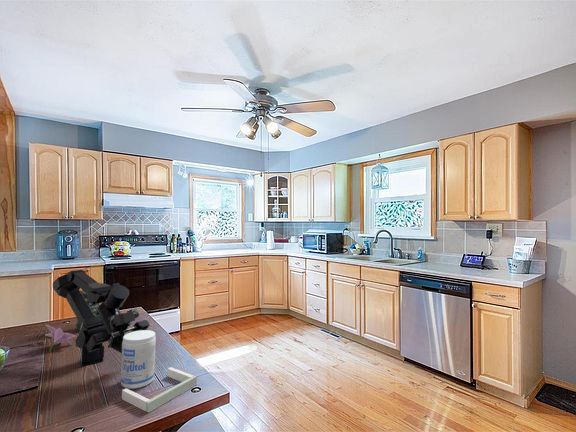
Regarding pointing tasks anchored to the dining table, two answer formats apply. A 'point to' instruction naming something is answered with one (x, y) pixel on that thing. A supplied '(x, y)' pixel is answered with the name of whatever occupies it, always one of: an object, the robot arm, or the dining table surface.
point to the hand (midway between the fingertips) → (130, 356)
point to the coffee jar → (92, 307)
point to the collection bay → (151, 404)
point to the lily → (59, 335)
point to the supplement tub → (138, 359)
